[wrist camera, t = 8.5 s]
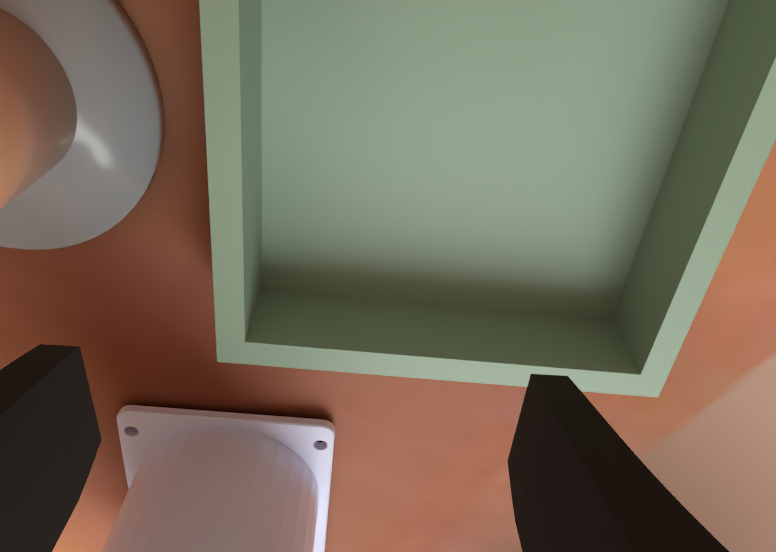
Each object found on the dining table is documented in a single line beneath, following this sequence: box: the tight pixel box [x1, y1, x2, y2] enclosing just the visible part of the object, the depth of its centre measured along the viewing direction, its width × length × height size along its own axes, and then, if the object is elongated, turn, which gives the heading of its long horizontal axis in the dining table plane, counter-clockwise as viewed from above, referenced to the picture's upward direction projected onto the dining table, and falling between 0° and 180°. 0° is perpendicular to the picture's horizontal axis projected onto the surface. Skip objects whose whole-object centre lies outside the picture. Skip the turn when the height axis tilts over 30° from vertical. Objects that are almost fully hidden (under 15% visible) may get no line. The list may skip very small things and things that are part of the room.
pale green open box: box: [199, 0, 776, 397], centre depth 15 cm, size 16×13×3 cm
